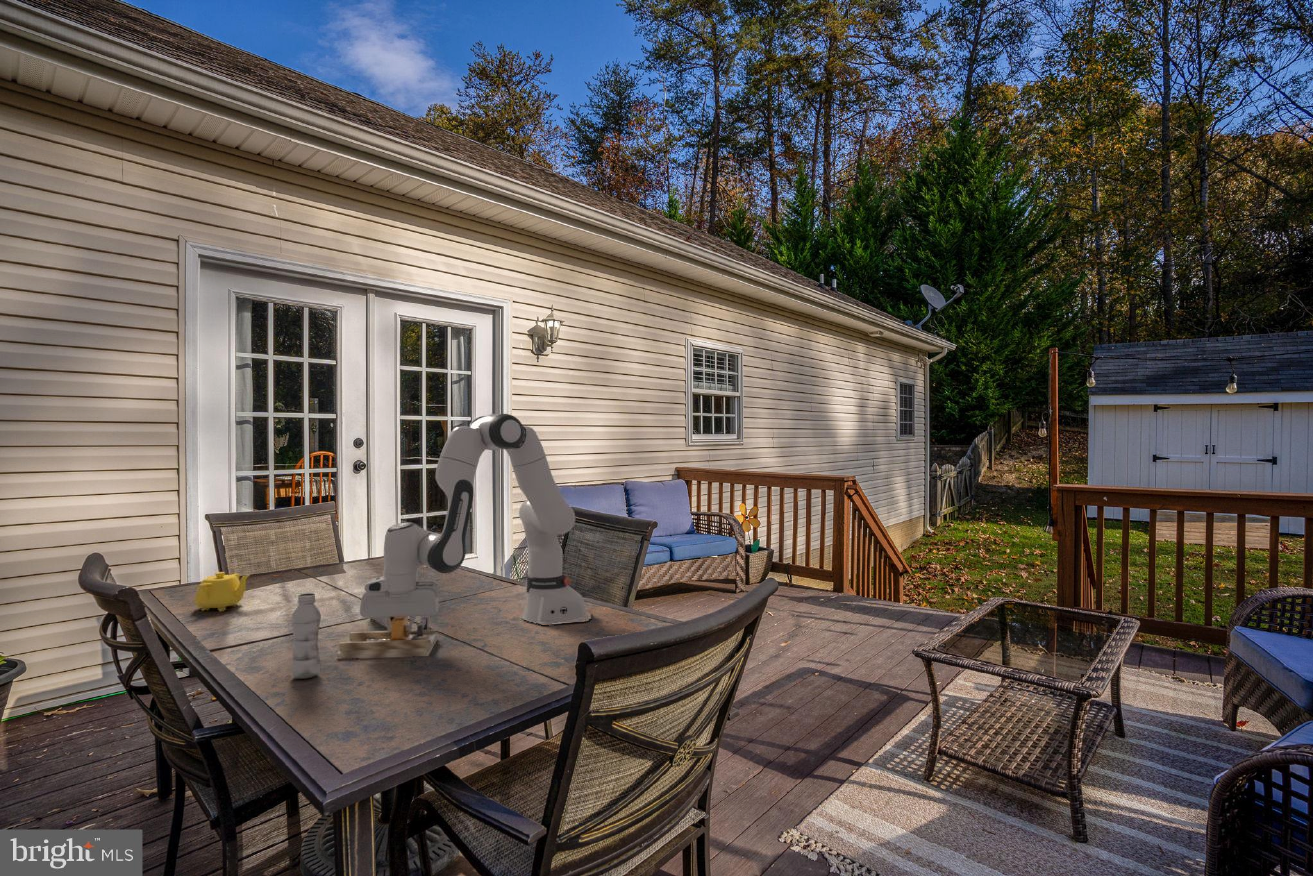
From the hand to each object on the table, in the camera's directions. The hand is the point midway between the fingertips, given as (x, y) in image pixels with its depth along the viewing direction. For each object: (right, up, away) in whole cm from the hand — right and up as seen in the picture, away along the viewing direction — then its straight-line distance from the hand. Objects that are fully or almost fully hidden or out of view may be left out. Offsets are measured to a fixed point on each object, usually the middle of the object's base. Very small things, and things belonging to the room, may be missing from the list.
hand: (399, 632), depth 177 cm
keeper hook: (+5, -3, +4) cm, 7 cm away
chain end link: (0, -3, 0) cm, 3 cm away
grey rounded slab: (-14, -5, +23) cm, 27 cm away
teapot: (-73, -3, +36) cm, 81 cm away
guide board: (-3, -5, 0) cm, 5 cm away
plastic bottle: (-14, -5, -22) cm, 26 cm away
